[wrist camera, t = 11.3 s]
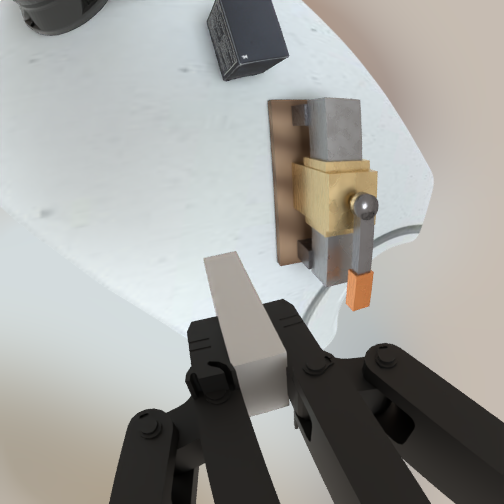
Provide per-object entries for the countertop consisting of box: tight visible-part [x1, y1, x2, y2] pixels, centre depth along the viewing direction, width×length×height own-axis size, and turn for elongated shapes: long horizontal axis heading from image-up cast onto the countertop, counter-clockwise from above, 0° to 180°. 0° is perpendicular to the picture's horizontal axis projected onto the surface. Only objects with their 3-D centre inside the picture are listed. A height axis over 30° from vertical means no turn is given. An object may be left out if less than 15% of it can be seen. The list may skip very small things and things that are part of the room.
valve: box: [291, 97, 377, 287], centre depth 38 cm, size 25×7×13 cm, turn 5°
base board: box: [268, 100, 312, 266], centre depth 45 cm, size 26×12×2 cm, turn 5°
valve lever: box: [346, 192, 378, 311], centre depth 34 cm, size 15×3×2 cm, turn 6°
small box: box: [207, 0, 289, 81], centre depth 30 cm, size 11×6×10 cm, turn 15°
